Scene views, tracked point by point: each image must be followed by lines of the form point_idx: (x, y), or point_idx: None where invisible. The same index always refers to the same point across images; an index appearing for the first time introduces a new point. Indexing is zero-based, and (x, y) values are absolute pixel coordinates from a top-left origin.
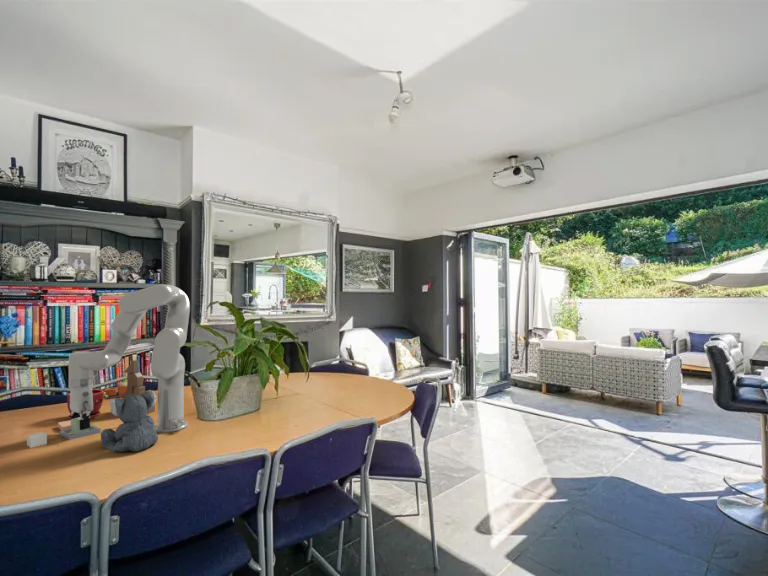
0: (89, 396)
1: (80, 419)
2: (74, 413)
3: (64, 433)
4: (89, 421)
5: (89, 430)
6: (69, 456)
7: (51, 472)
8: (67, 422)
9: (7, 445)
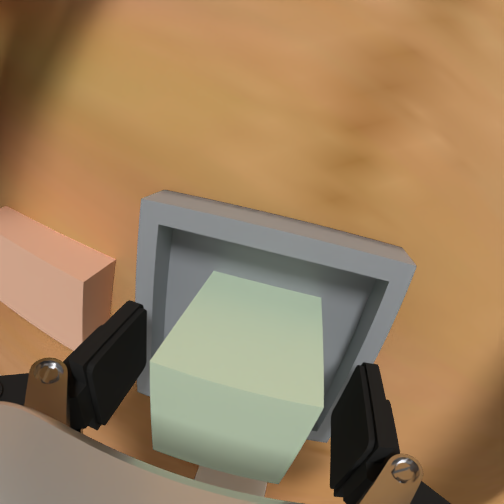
0: None
1: (271, 458)
2: (71, 425)
3: None
4: (385, 416)
5: (244, 249)
6: (485, 465)
7: (499, 495)
8: (3, 268)
9: None
